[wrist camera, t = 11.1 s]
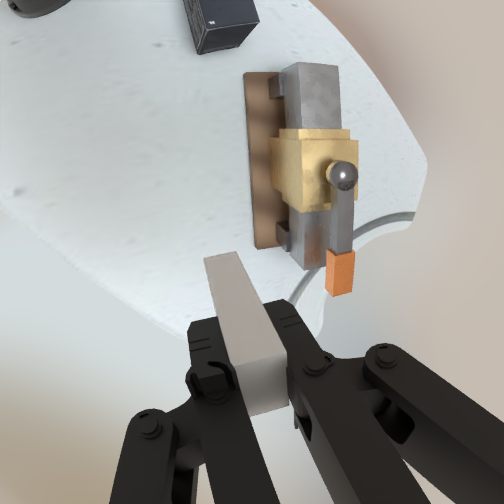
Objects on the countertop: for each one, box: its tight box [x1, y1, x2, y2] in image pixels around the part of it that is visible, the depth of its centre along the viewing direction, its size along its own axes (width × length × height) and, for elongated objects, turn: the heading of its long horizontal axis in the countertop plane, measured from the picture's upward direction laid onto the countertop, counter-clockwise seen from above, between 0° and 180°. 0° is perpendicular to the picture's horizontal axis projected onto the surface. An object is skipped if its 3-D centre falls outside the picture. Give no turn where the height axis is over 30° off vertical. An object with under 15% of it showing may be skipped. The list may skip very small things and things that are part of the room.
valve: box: [268, 62, 358, 270], centre depth 35 cm, size 25×7×13 cm, turn 4°
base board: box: [244, 72, 289, 250], centre depth 41 cm, size 26×12×2 cm, turn 4°
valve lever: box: [325, 160, 358, 297], centre depth 31 cm, size 15×3×2 cm, turn 5°
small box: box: [183, 0, 260, 55], centre depth 26 cm, size 11×6×10 cm, turn 14°
